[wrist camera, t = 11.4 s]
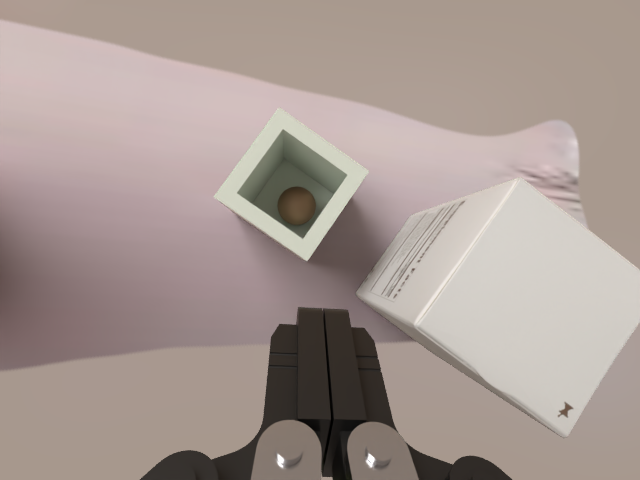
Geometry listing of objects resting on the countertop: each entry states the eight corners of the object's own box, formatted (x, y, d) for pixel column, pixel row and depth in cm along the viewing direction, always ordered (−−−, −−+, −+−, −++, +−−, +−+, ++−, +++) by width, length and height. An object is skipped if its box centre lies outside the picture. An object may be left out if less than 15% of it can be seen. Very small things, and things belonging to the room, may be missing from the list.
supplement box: (492, 272, 32) (673, 287, 17) (434, 356, 31) (571, 449, 16) (411, 210, 31) (524, 169, 16) (351, 293, 31) (412, 329, 16)
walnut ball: (291, 228, 30) (301, 236, 27) (266, 203, 29) (273, 209, 26) (316, 203, 30) (328, 208, 27) (292, 176, 29) (303, 180, 26)
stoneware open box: (302, 259, 30) (307, 261, 22) (233, 212, 30) (213, 196, 22) (348, 192, 31) (369, 171, 23) (281, 145, 31) (279, 107, 23)
